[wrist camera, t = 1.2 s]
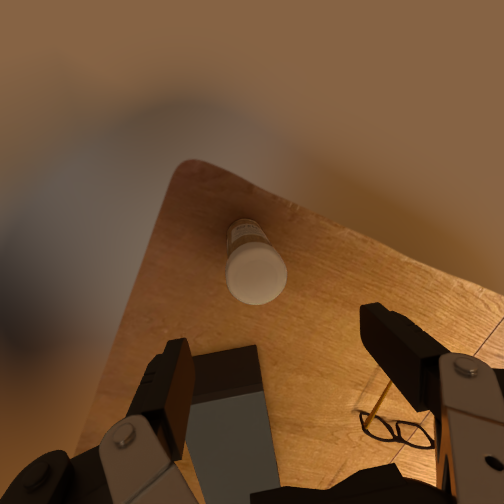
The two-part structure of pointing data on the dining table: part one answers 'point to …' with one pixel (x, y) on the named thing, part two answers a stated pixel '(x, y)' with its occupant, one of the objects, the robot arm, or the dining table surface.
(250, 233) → the sprinkles bottle
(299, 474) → the dining table surface
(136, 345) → the dining table surface
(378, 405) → the eyeglasses
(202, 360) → the shelf
